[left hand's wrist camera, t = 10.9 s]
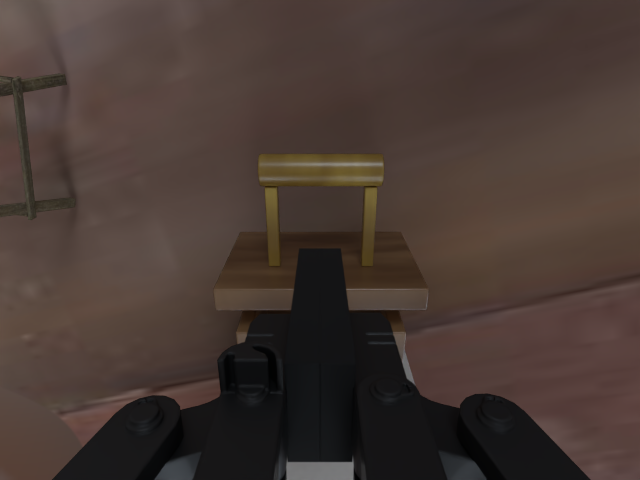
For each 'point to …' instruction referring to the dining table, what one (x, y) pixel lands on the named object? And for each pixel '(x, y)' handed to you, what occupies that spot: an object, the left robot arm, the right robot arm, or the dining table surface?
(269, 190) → the drawer
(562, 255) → the dining table surface
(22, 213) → the miniature windmill
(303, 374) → the left robot arm
